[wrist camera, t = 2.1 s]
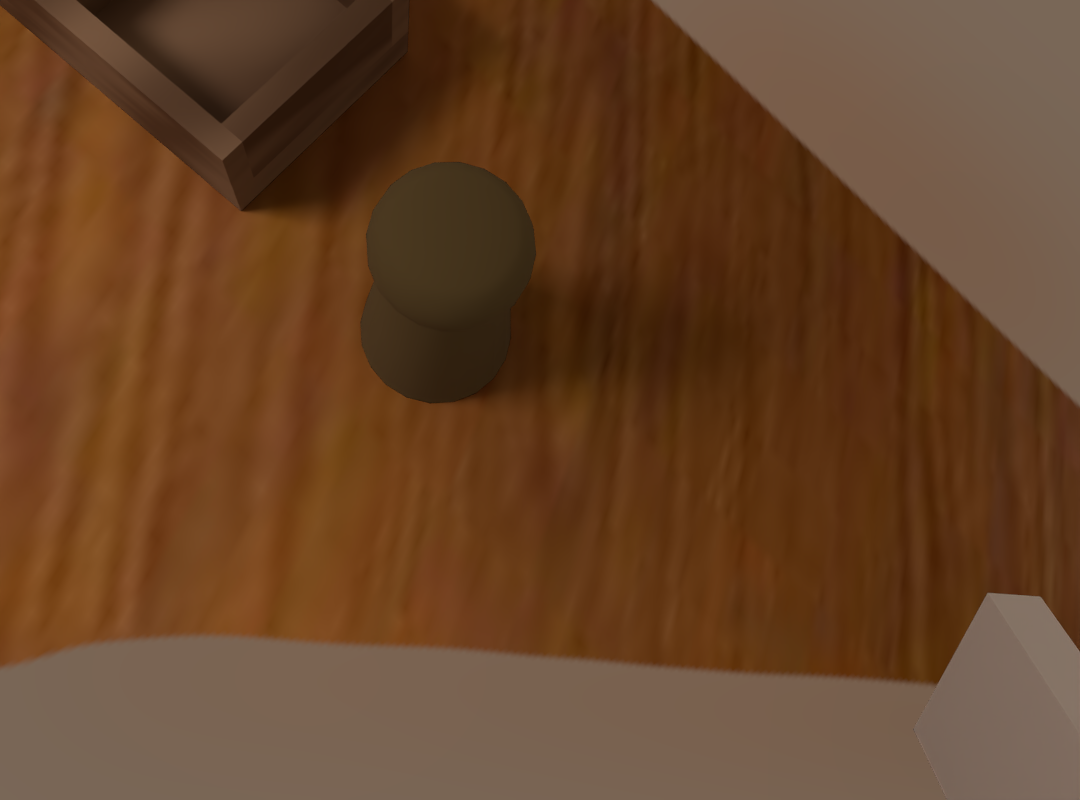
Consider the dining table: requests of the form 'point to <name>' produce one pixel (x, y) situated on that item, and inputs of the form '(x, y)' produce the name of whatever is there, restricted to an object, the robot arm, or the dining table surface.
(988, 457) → the dining table surface
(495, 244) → the cork
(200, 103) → the stand
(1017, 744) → the robot arm
